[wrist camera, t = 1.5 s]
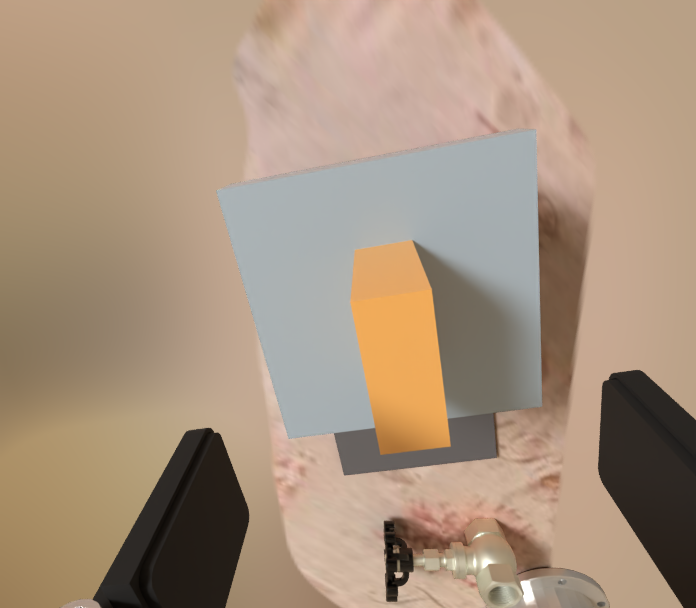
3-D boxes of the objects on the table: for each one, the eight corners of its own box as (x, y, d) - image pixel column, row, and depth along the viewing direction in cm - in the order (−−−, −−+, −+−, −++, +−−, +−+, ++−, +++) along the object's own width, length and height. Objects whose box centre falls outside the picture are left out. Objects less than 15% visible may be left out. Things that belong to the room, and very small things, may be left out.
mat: (495, 454, 40) (496, 457, 39) (344, 472, 41) (344, 475, 41) (485, 316, 35) (486, 318, 34) (312, 341, 36) (312, 344, 36)
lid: (527, 382, 24) (602, 504, 16) (294, 413, 25) (264, 538, 17) (517, 128, 19) (619, 132, 11) (230, 183, 20) (150, 220, 13)
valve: (507, 504, 42) (383, 505, 43) (531, 569, 36) (386, 568, 37) (501, 553, 45) (384, 552, 45) (523, 621, 39) (386, 619, 39)
